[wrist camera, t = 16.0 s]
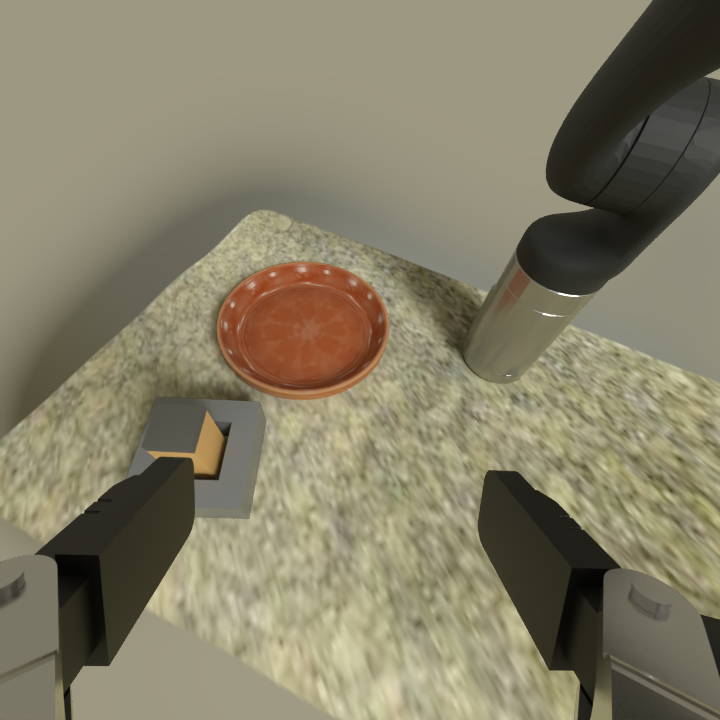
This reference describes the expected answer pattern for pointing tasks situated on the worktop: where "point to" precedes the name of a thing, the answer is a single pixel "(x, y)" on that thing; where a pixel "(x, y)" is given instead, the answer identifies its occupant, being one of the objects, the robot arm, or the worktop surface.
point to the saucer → (302, 330)
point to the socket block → (240, 461)
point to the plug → (187, 438)
